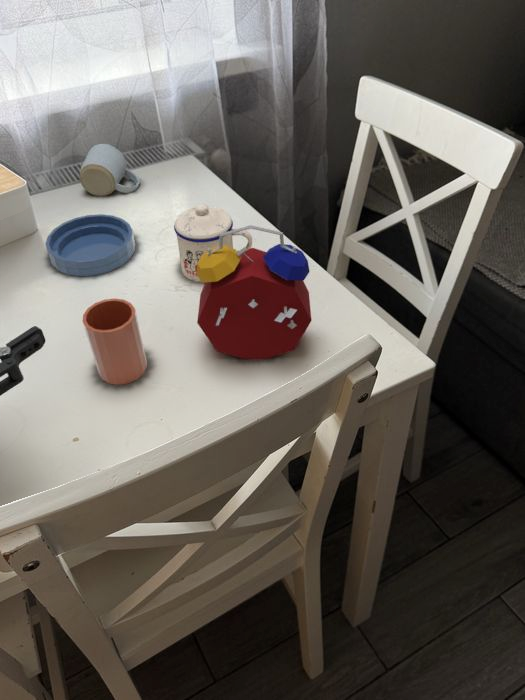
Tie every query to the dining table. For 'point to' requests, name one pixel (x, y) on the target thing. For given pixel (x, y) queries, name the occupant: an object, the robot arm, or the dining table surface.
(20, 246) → the dining table surface
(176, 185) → the dining table surface
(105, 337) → the cup
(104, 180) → the ceramic mug
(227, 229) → the teacup with lid
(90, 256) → the bowl
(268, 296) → the alarm clock
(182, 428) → the dining table surface
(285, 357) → the dining table surface
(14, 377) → the robot arm
